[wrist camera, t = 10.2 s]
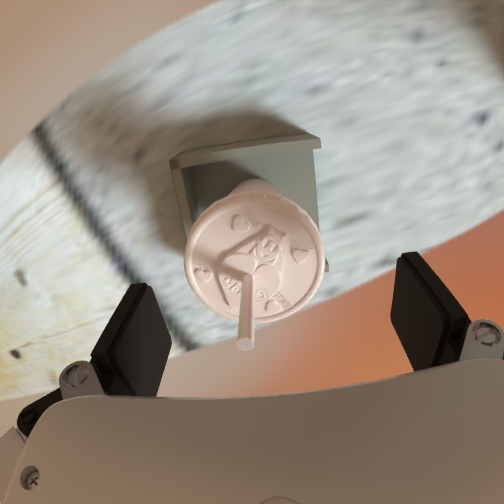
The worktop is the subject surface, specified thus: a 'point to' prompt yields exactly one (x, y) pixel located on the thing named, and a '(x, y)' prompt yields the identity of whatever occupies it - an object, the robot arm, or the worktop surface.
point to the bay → (246, 173)
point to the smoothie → (254, 257)
